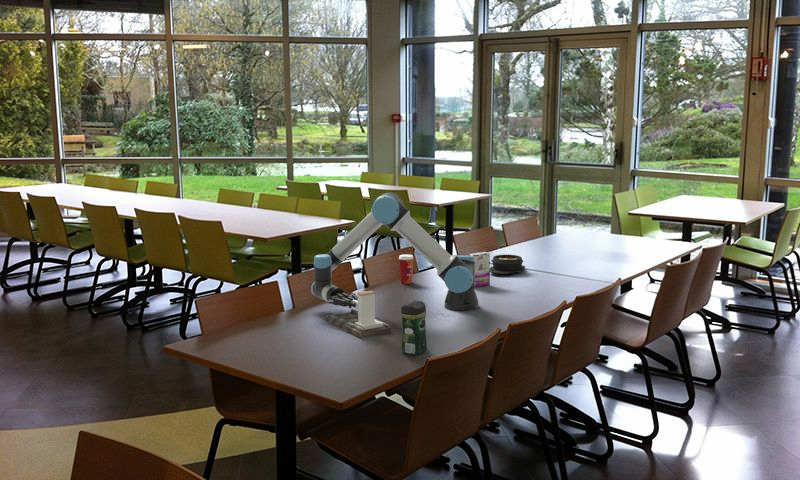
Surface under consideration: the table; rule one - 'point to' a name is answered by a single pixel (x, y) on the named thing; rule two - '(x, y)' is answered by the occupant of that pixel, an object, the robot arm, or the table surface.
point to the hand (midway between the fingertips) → (361, 306)
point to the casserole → (507, 264)
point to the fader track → (348, 324)
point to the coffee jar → (413, 328)
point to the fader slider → (367, 311)
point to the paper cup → (406, 268)
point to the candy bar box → (481, 268)
